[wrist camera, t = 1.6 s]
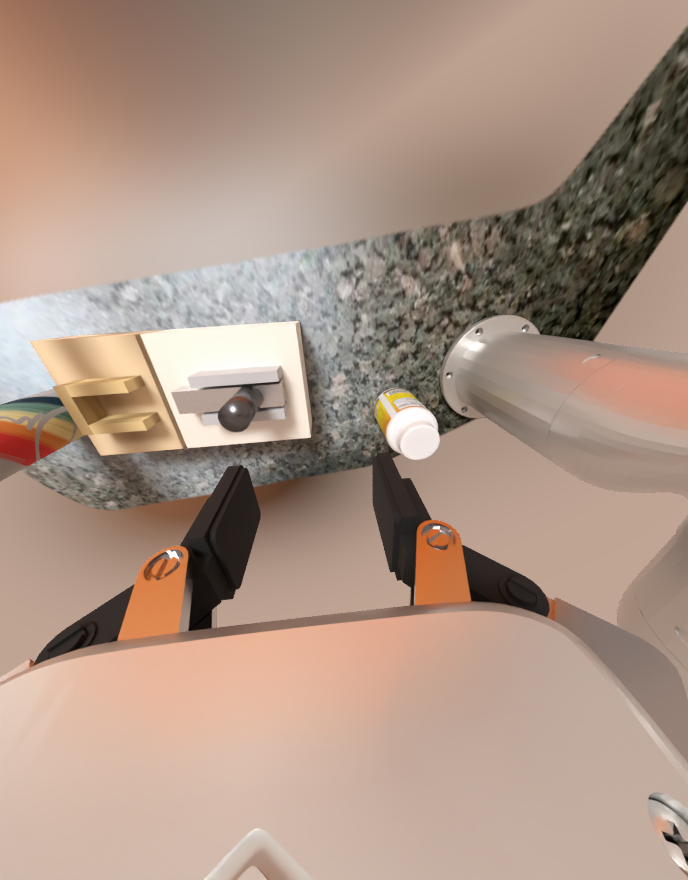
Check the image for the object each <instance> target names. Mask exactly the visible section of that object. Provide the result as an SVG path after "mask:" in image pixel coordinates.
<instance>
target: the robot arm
mask: <svg viewBox="0 0 688 880" xmlns="http://www.w3.org/2000/svg"><path fill="white" fill-rule="evenodd" d="M476 330H477V331H476ZM475 332H476V333H475ZM447 373H448V374H447ZM446 374H447V375H446ZM440 388H441V393H442V395H443V398H444V400H445V401H446V403H447V404H448V405H449V406H450V407H451V408H452V409H453V410H454V411H456V412H457V413H459V414H460V415H463V416H466V417H469V418H488V419H490V420H491V421H493V422H494V423H496V424H497V425H498V426H500V427H502V428H503V429H504V430H506V431H507V432H509V433H510V434H512V435H513V436H515V437H517V438H518V439H519V440H521V441H522V442H524V443H525V444H527V445H528V446H529V447H531V448H532V449H534V450H535V451H537V452H538V453H540V454H541V455H543V456H544V457H546V458H547V459H549V460H550V461H552V462H553V463H555V464H556V465H558V466H559V467H561V468H563V469H564V470H565V471H567V472H569V473H570V474H572V475H573V476H575V477H577V478H578V479H580V480H582V481H584V482H586V483H588V484H591V485H593V486H596V487H600V488H603V489H607V490H613V491H618V492H631V493H655V492H671V493H676V494H680V495H683V496H684V497H686V498H687V499H688V354H686V353H678V352H669V351H662V350H654V349H646V348H638V347H631V346H623V345H615V344H608V343H601V342H593V341H585V340H578V339H570V338H562V337H555V336H547V335H540V333H539V331H538V329H537V328H536V327H535V326H534V325H533V324H532V323H531V322H529V321H528V320H526V319H525V318H522V317H518V316H514V315H496V316H492V317H489V318H485V319H483V320H481V321H479V322H477V323H475V324H473V325H472V326H471V327H469V328H468V329H466V330H465V331H464V332H463V333H462V334H461V335H460V336H459V337H458V338H457V339H456V340H455V342H454V343H453V344H452V346H451V347H450V349H449V351H448V352H447V354H446V356H445V358H444V361H443V364H442V367H441V372H440ZM373 507H374V511H375V515H376V519H377V523H378V527H379V531H380V534H381V539H382V542H383V546H384V550H385V554H386V558H387V562H388V566H389V569H390V572H395V575H396V578H397V580H402V581H403V583H405V584H406V585H408V586H409V587H410V603H409V606H403V607H394V608H385V609H376V610H367V611H358V612H349V613H340V614H331V615H322V616H313V617H305V618H296V619H287V620H279V621H271V622H261V623H253V624H244V625H236V626H228V627H219V628H217V605H218V604H220V603H221V600H227V599H233V597H234V594H235V590H236V589H239V588H240V586H241V583H242V580H243V576H244V573H245V569H246V566H247V563H248V559H249V556H250V552H251V549H252V545H253V542H254V538H255V535H256V532H257V528H258V524H259V521H260V509H259V506H258V502H257V499H256V495H255V492H254V488H253V485H252V482H251V478H250V475H249V472H248V469H247V468H244V467H243V466H242V465H238V466H229V467H228V468H227V469H226V471H225V473H224V474H223V476H222V478H221V480H220V481H219V483H218V485H217V486H216V488H215V490H214V492H213V493H212V495H211V497H210V498H208V500H207V501H206V503H205V504H204V506H203V508H202V509H201V511H200V513H199V514H198V516H197V518H196V519H195V521H194V523H193V525H192V526H191V528H190V530H189V531H188V533H187V535H186V536H185V538H184V540H183V541H182V543H181V545H180V546H172V547H168V548H165V549H164V550H161V551H159V552H158V553H156V554H154V555H153V556H151V557H150V558H149V559H148V560H147V561H146V562H145V563H144V564H143V566H142V567H141V569H140V570H139V572H138V575H137V578H136V582H135V584H134V585H132V586H131V587H130V588H128V589H126V590H125V591H123V592H122V593H120V594H118V595H117V596H115V597H114V598H112V599H111V600H109V601H108V602H106V603H105V604H103V605H101V606H100V607H98V608H97V609H95V610H94V611H92V612H91V613H89V614H88V615H86V616H85V617H83V618H81V619H80V620H78V621H77V622H75V623H74V624H72V625H71V626H69V627H67V628H66V629H65V630H63V631H62V632H61V633H59V634H58V635H57V636H56V637H55V638H54V639H53V640H51V641H50V642H49V643H48V644H47V645H46V647H45V648H44V649H43V650H42V651H41V653H40V654H39V656H38V657H37V659H36V660H35V661H32V660H31V659H29V660H27V661H26V662H24V663H22V664H21V665H19V666H18V667H16V668H15V669H13V670H11V671H10V672H8V673H7V674H5V675H3V676H2V677H0V880H688V516H687V517H686V518H685V519H684V521H683V522H682V523H681V525H680V526H679V527H678V529H677V531H676V534H675V535H674V536H673V537H672V538H671V540H669V542H668V543H667V544H666V545H665V546H664V547H663V548H662V549H661V550H660V551H659V553H658V554H657V555H656V556H655V557H654V558H653V559H652V560H651V561H650V563H649V564H648V565H647V566H646V567H645V568H644V569H643V570H642V571H641V573H639V575H638V576H637V577H636V578H635V579H634V580H633V582H632V583H631V584H630V585H629V587H628V588H627V590H626V591H625V592H624V594H623V596H622V598H621V600H620V602H619V606H618V611H617V625H618V627H617V626H615V625H613V624H611V623H609V622H607V621H604V620H602V619H600V618H598V617H596V616H594V615H592V614H590V613H588V612H586V611H584V610H582V609H579V608H577V607H575V606H573V605H571V604H569V603H567V602H565V601H563V600H561V599H559V598H557V597H555V599H554V600H552V599H550V598H548V597H546V595H545V594H544V593H543V592H542V590H541V589H540V587H538V586H537V585H536V584H535V583H534V582H533V581H531V580H530V579H528V578H527V577H525V576H523V575H521V574H519V573H517V572H515V571H513V570H511V569H509V568H507V567H505V566H503V565H501V564H499V563H497V562H495V561H493V560H492V559H489V558H488V557H486V556H484V555H481V554H480V553H478V552H476V551H474V550H472V549H470V548H468V547H465V546H464V545H462V543H461V538H460V535H459V533H458V532H457V531H456V530H455V529H454V528H453V527H452V526H451V525H449V524H447V523H445V522H442V521H438V520H432V519H431V518H430V516H429V514H428V512H427V510H426V508H425V506H424V504H423V502H422V500H421V498H420V497H419V494H418V492H417V491H416V488H415V486H414V485H413V483H412V481H411V479H410V478H405V479H401V476H400V474H399V472H398V470H397V468H396V466H395V463H394V461H393V459H392V457H391V455H390V453H389V452H385V453H377V456H374V457H373Z"/></svg>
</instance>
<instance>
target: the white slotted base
mask: <svg viewBox="0 0 688 880" xmlns="http://www.w3.org/2000/svg"><path fill="white" fill-rule="evenodd" d="M140 335H141V338H142V340H143V343H144V345H145V347H146V350H147V352H148V355H149V357H150V359H151V362H152V364H153V367H154V369H155V371H156V374H157V376H158V379H159V381H160V383H161V386H162V388H163V391H164V393H165V395H166V398H167V400H168V403H169V405H170V407H171V410H172V412H173V415H174V417H175V419H176V422H177V424H178V427H179V429H180V431H181V434H182V436H183V439H184V441H185V443H186V446H187V448H196V447H208V446H219V445H231V444H243V443H254V442H266V441H278V440H289V439H301V438H311V429H312V415H311V407H310V399H309V391H308V383H307V376H306V368H305V360H304V352H303V344H302V336H301V329H300V321H293V322H278V323H263V324H247V325H232V326H217V327H201V328H186V329H170V330H164V331H157V332H151V333H144V334H140ZM280 379H283V384H284V390H285V395H286V401H285V404H284V406H278V407H266V408H259V410H258V411H257V413H256V415H255V416H254V418H253V420H252V421H251V423H250V425H249V426H248V428H247V429H246V430H244V431H242V432H231V431H228V430H227V429H225V428H224V427H223V426H222V425H221V424H220V422H219V420H218V412H219V411H216V412H203V413H190V414H179V411H178V409H177V406H176V404H175V401H174V399H173V396H172V394H171V392H172V391H174V390H176V389H178V388H179V387H181V386H190V387H191V388H199V387H213V386H226V385H239V384H252V383H266V382H279V380H280Z"/></svg>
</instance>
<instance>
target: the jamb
mask: <svg viewBox="0 0 688 880" xmlns="http://www.w3.org/2000/svg"><path fill="white" fill-rule="evenodd" d="M157 331H164V330H155V331H140V332H124V333H109V334H94V335H78V336H70V337H62V338H54V339H45V340H37V341H30V343H31V344H32V346H33V348H34V349H35V351H36V352H37V354H38V356H39V357H40V359H41V360H42V362H43V364H44V365H45V367H46V369H47V370H48V372H49V373H50V375H51V377H52V378H53V380H54V381H55V383H56V385H57V386H55V387H53V389H54V390H55V392H56V393H57V395H58V396H59V398H60V400H61V401H62V403H63V404H64V406H65V408H66V409H67V411H68V412H69V414H70V415H71V417H72V419H73V420H74V422H75V423H76V425H77V426H78V428H79V430H80V431H81V433H82V434H83V436H84V435H88V436H89V438H90V439H91V441H92V442H93V444H94V446H95V447H96V449H97V450H98V452H99V454H100V455H101V456H103V455H114V454H126V453H138V452H149V451H161V450H173V449H183V448H184V447H185V446H186V443H185V441H184V439H183V436H182V434H181V431H180V429H179V427H178V424H177V422H176V419H175V417H174V415H173V412H172V410H171V407H170V405H169V403H168V400H167V398H166V395H165V393H164V391H163V388H162V386H161V383H160V381H159V379H158V376H157V374H156V371H155V369H154V367H153V364H152V362H151V359H150V357H149V355H148V352H147V350H146V347H145V345H144V343H143V340H142V338H141V335H140V334H144V333H151V332H157Z"/></svg>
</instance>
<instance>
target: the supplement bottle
mask: <svg viewBox="0 0 688 880" xmlns="http://www.w3.org/2000/svg"><path fill="white" fill-rule="evenodd" d="M374 415H375V418H376V420H377V422H378V424H379V426H380V428H381V430H382V432H383V434H384V436H385V438H386V440H387V442H388V444H389V445H390V447H391V448H392V449H393V450H394V451H396V452H398V453H400V454H403V455H404V456H405V457H407V458H409V459H412V460H421V459H425V458H427V457H429V456H430V455H432V454H433V453H434V452H435V451H436V449H437V448H438V445H439V442H440V437H439V434H438V424H437V421H436V418H435V417H434V415H433V414H432V413H431V412H430V411H429V410H428V409H427V408H426V407H425V406H424V405H423V404H421V403H420V402H419V401H418V400H417V399H416V398H415V397H414V396H413V395H412V394H411V393H410V392H408V391H407V390H405V389H402V388H391V389H388V390H386V391H384V392H383V393H382V394H381V395H380V396H379V397H378V398H377V400H376V402H375V405H374Z"/></svg>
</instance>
